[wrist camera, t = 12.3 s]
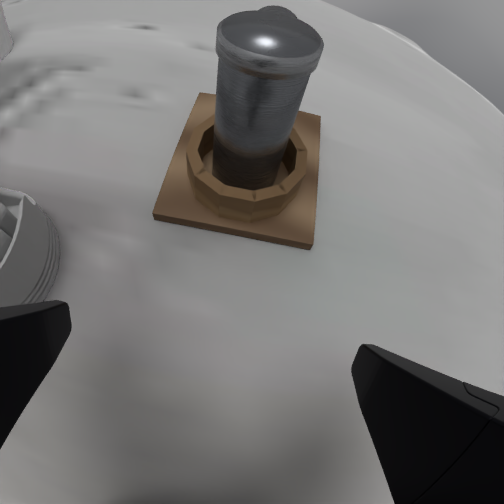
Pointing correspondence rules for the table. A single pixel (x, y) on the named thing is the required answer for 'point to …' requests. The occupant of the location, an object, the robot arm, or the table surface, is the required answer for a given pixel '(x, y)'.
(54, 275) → the engine component
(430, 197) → the table surface
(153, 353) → the table surface
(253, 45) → the pipe fitting
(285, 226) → the duct plate
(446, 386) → the robot arm
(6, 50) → the bottle
